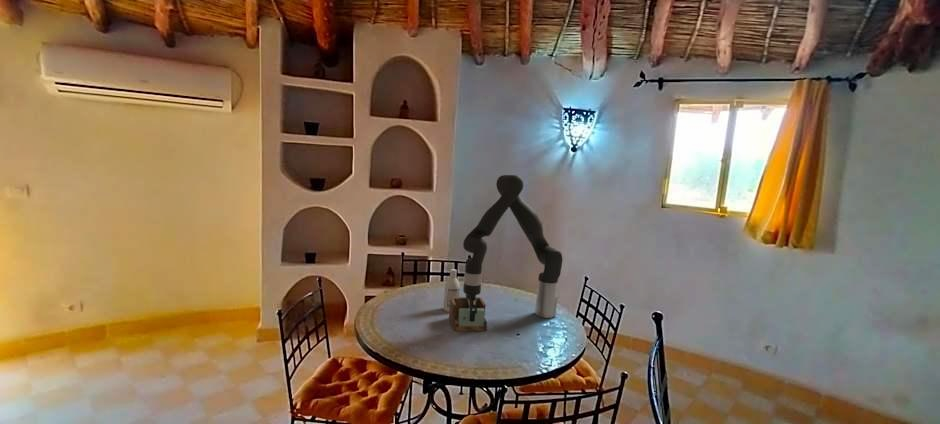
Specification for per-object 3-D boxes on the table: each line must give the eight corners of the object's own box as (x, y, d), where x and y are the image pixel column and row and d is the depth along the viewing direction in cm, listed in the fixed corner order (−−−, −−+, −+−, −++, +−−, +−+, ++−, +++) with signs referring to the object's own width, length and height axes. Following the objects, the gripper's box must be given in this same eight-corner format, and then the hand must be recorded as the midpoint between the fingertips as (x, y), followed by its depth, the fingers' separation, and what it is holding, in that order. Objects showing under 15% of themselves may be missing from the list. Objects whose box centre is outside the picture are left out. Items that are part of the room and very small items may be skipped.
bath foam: (460, 310, 241) (463, 270, 238) (449, 313, 237) (452, 272, 233) (452, 306, 246) (455, 266, 243) (440, 308, 242) (443, 268, 238)
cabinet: (479, 317, 234) (481, 297, 232) (486, 330, 220) (488, 309, 219) (448, 318, 231) (450, 297, 230) (453, 330, 218) (455, 309, 216)
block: (482, 327, 224) (483, 308, 222) (483, 330, 221) (485, 310, 219) (457, 327, 222) (459, 308, 220) (458, 330, 219) (460, 310, 217)
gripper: (484, 287, 212) (481, 324, 215) (477, 277, 225) (475, 311, 228) (466, 287, 210) (464, 324, 213) (461, 276, 224) (459, 311, 227)
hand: (470, 317), depth 221 cm, fingers open, 8 cm apart
